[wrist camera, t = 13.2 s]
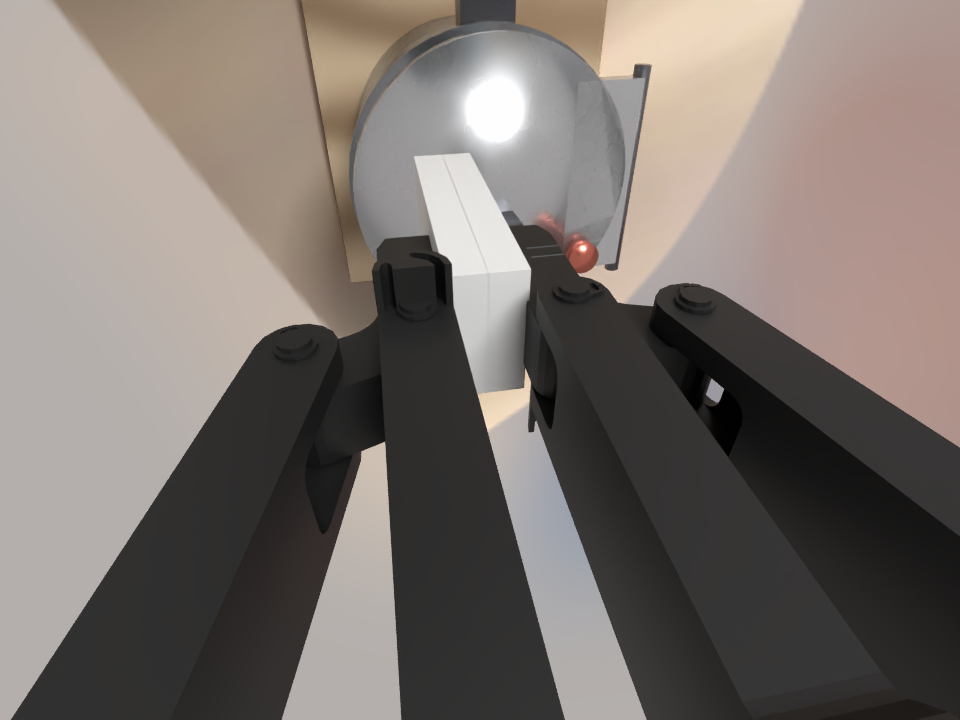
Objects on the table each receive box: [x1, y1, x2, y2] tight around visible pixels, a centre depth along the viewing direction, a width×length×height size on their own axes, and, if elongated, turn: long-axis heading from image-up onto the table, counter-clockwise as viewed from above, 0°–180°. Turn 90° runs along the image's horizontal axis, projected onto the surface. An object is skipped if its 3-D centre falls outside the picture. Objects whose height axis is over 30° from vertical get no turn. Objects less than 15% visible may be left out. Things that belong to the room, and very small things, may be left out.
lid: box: [353, 29, 652, 273], centre depth 27 cm, size 14×15×3 cm
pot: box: [349, 0, 597, 223], centre depth 33 cm, size 24×16×9 cm, turn 1°
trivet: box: [301, 0, 607, 282], centre depth 36 cm, size 20×18×1 cm
